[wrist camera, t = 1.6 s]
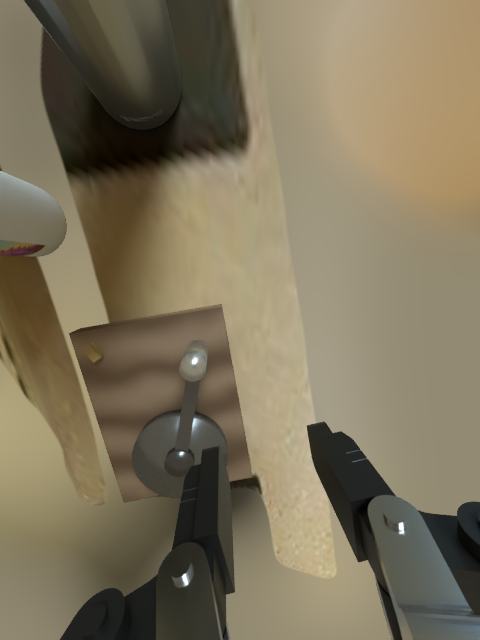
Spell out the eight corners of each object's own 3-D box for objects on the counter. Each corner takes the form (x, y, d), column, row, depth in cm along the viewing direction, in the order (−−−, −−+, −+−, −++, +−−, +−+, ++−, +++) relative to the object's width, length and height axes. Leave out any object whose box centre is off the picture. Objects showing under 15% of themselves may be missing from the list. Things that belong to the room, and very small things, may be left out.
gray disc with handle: (219, 492, 35) (218, 554, 28) (131, 483, 34) (105, 546, 26) (249, 342, 31) (259, 366, 23) (150, 326, 30) (126, 346, 22)
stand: (80, 328, 32) (63, 335, 28) (221, 304, 32) (221, 308, 29) (130, 486, 37) (121, 509, 34) (250, 463, 38) (253, 483, 34)
